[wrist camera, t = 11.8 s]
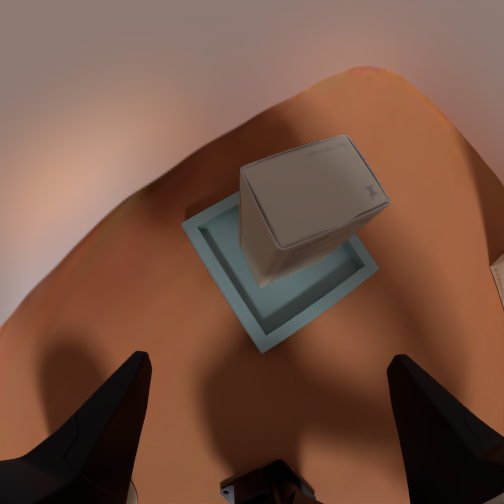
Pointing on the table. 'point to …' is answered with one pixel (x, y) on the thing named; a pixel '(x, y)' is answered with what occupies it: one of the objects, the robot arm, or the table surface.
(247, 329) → the tray
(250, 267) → the skincare box
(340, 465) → the table surface
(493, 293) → the table surface
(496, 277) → the coffeecake box
